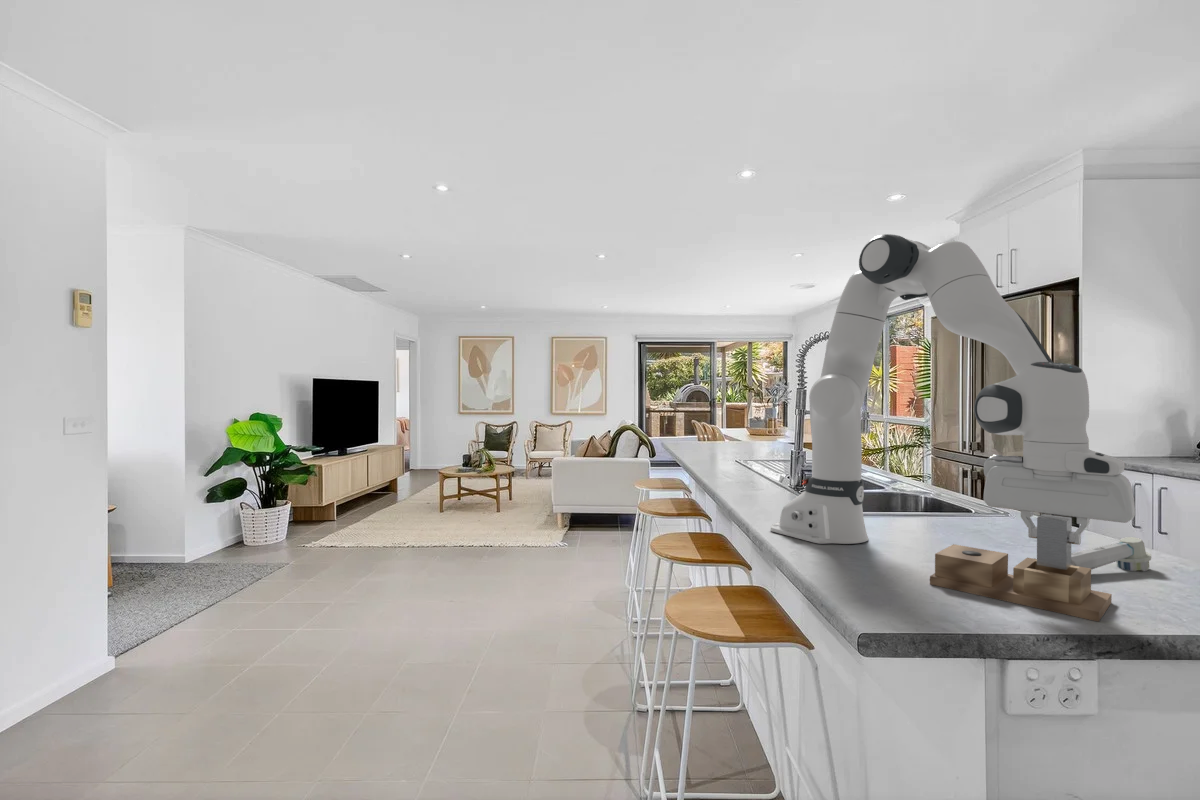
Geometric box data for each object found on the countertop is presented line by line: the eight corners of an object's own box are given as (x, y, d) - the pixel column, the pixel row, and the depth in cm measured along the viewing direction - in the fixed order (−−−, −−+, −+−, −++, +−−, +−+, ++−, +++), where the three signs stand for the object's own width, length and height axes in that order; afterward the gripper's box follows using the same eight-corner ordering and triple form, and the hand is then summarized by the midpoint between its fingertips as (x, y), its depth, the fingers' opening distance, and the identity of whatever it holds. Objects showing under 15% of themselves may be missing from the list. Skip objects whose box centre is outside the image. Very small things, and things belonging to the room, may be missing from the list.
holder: (929, 584, 110) (930, 553, 110) (952, 570, 118) (952, 542, 118) (1098, 621, 93) (1099, 585, 93) (1111, 602, 101) (1112, 569, 101)
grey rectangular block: (1036, 564, 102) (1037, 517, 102) (1042, 560, 105) (1042, 514, 105) (1066, 570, 99) (1066, 521, 99) (1071, 564, 102) (1071, 517, 102)
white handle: (1037, 555, 116) (1126, 528, 124) (1040, 588, 117) (1128, 560, 124) (1065, 562, 111) (1156, 534, 119) (1068, 597, 112) (1159, 567, 119)
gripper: (978, 455, 107) (978, 533, 107) (1131, 465, 92) (1130, 556, 92) (989, 452, 111) (988, 527, 111) (1137, 462, 96) (1136, 548, 97)
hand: (1054, 540), depth 102 cm, fingers closed on grey rectangular block, 4 cm apart
